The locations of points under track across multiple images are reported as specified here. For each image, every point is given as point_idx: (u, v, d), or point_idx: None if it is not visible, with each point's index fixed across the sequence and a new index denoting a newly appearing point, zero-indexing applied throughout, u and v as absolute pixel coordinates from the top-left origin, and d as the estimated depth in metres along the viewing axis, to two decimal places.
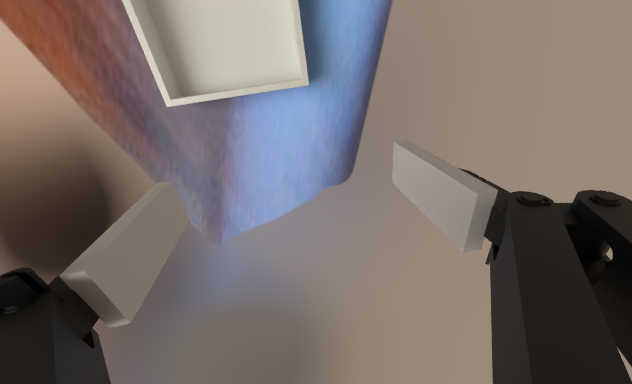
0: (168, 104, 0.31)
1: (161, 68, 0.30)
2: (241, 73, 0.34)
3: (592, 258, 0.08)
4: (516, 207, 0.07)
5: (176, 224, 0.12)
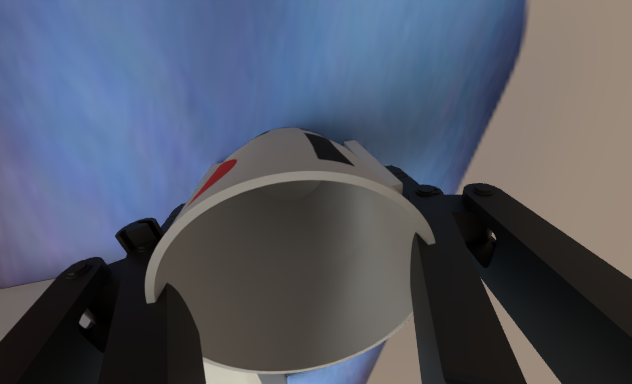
0: None
1: None
2: None
3: (483, 241, 0.09)
4: (415, 200, 0.08)
5: None
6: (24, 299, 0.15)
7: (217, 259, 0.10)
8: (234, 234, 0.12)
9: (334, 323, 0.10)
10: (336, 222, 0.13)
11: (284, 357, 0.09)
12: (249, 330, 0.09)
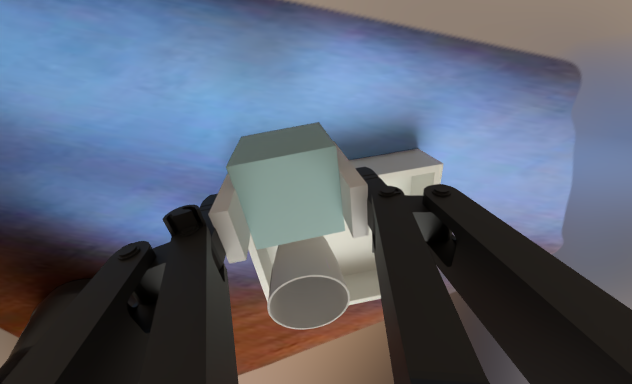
0: None
1: None
2: None
3: (445, 240, 0.09)
4: (379, 201, 0.09)
5: None
6: None
7: (317, 295, 0.27)
8: (317, 279, 0.29)
9: None
10: None
11: (345, 301, 0.24)
12: (337, 302, 0.25)
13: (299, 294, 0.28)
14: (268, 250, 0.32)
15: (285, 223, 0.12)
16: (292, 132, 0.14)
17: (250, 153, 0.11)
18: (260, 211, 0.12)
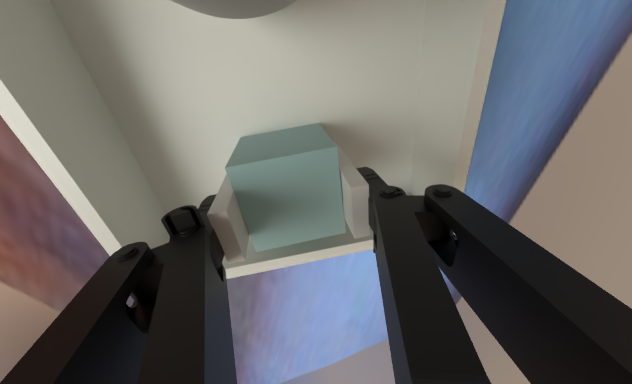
0: None
1: (125, 221, 0.12)
2: None
3: (446, 240, 0.09)
4: (380, 201, 0.09)
5: None
6: None
7: None
8: None
9: None
10: None
11: None
12: None
13: None
14: None
15: (285, 225, 0.12)
16: (292, 133, 0.13)
17: (250, 154, 0.11)
18: (259, 213, 0.11)
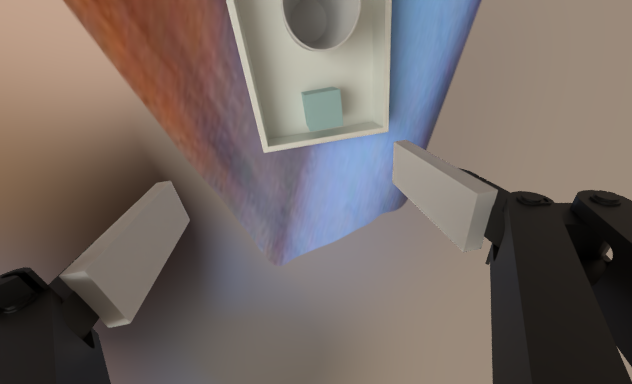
0: (265, 151, 0.35)
1: (262, 120, 0.34)
2: None
3: (593, 258, 0.08)
4: (516, 207, 0.07)
5: (176, 224, 0.12)
6: None
7: None
8: None
9: (331, 46, 0.26)
10: (332, 36, 0.30)
11: (313, 48, 0.25)
12: None
13: (284, 2, 0.26)
14: None
15: (321, 120, 0.33)
16: (322, 89, 0.35)
17: (310, 93, 0.32)
18: (313, 114, 0.33)
